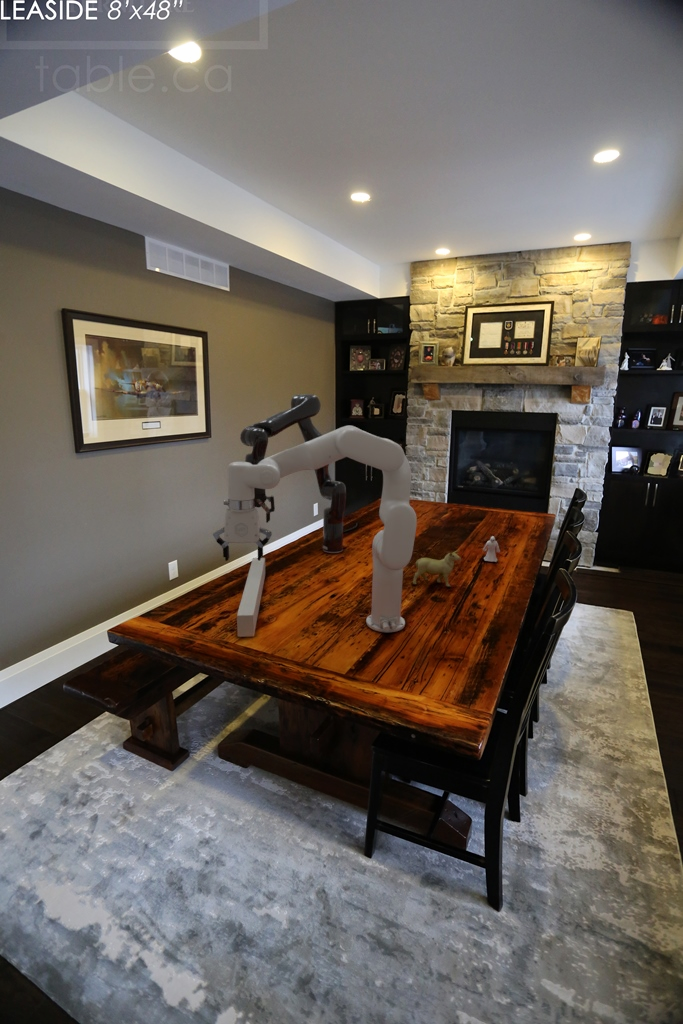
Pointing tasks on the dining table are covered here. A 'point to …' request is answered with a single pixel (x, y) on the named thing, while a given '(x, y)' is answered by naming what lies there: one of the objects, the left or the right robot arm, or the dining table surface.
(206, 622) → the dining table surface
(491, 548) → the figurine
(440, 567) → the toy
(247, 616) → the bar
